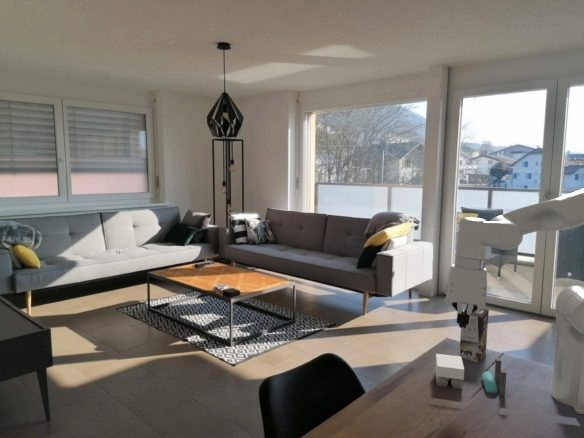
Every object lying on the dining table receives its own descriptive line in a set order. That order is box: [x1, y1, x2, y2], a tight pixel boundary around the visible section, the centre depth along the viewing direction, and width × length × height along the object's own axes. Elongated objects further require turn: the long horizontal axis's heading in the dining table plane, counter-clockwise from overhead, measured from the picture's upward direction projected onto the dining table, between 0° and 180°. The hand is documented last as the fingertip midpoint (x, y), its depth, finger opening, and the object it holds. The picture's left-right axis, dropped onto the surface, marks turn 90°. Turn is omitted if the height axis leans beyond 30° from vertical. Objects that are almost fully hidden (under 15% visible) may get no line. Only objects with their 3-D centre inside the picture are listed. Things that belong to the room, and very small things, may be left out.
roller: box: [481, 371, 499, 394], centre depth 121 cm, size 7×3×3 cm, turn 165°
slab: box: [434, 353, 465, 381], centre depth 123 cm, size 7×8×3 cm
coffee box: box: [458, 308, 490, 363], centre depth 139 cm, size 9×6×16 cm
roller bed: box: [434, 357, 507, 397], centre depth 122 cm, size 18×9×8 cm, turn 74°
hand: (462, 326), depth 120 cm, fingers closed
